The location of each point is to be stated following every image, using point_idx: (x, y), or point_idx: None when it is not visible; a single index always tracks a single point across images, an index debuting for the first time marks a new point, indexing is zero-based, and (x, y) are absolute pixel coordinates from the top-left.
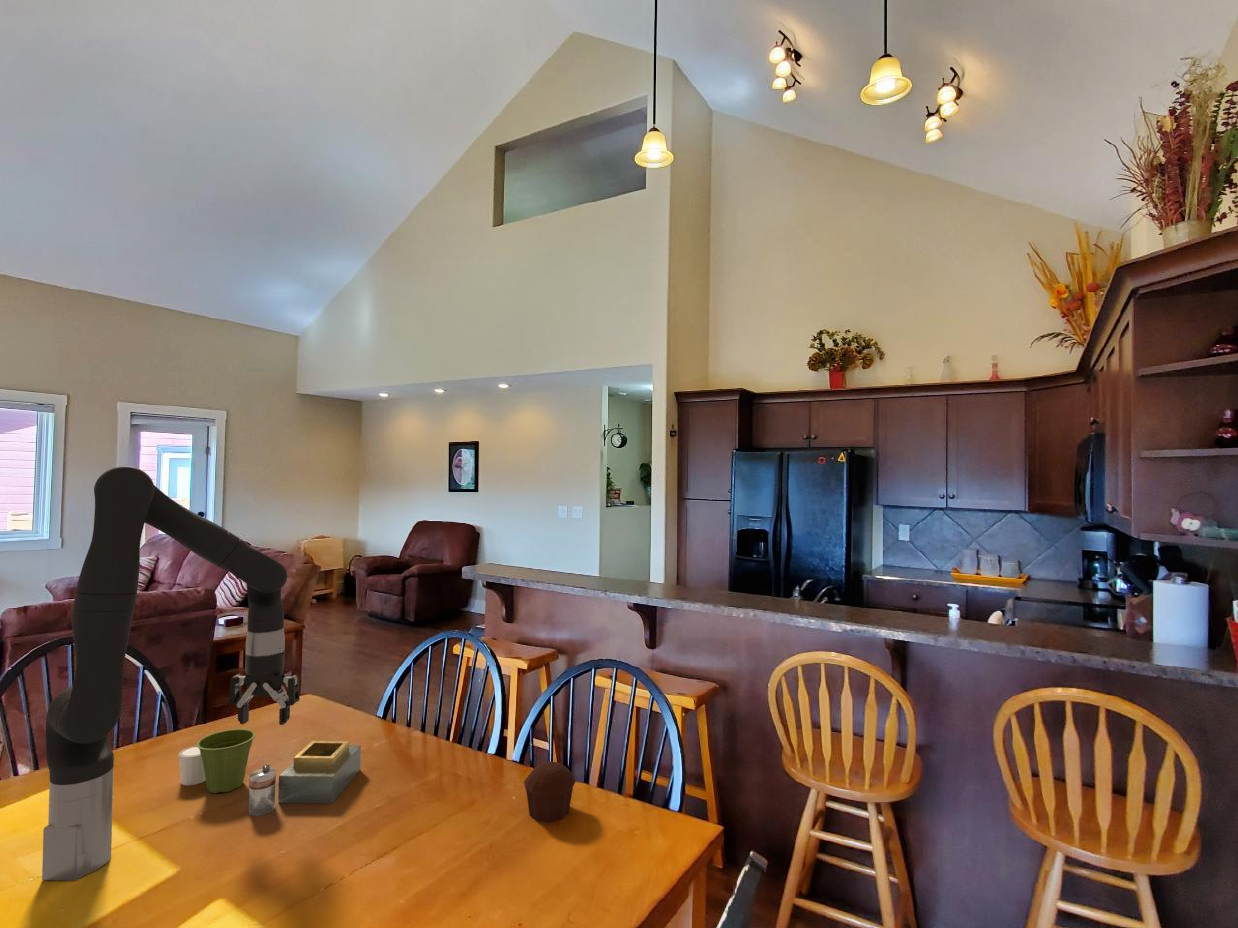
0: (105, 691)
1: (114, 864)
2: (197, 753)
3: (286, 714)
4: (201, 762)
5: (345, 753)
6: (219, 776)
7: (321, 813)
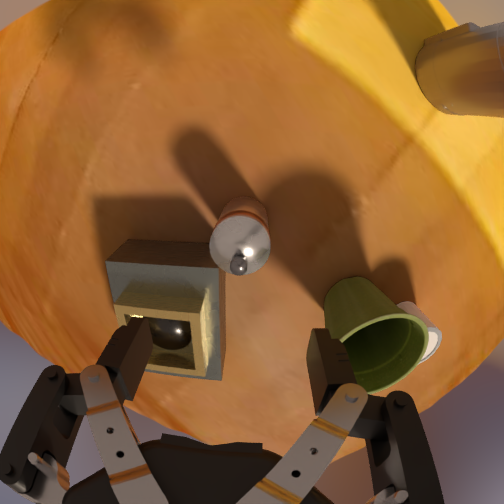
0: None
1: (403, 67)
2: None
3: (106, 346)
4: None
5: None
6: (360, 289)
7: (127, 206)
